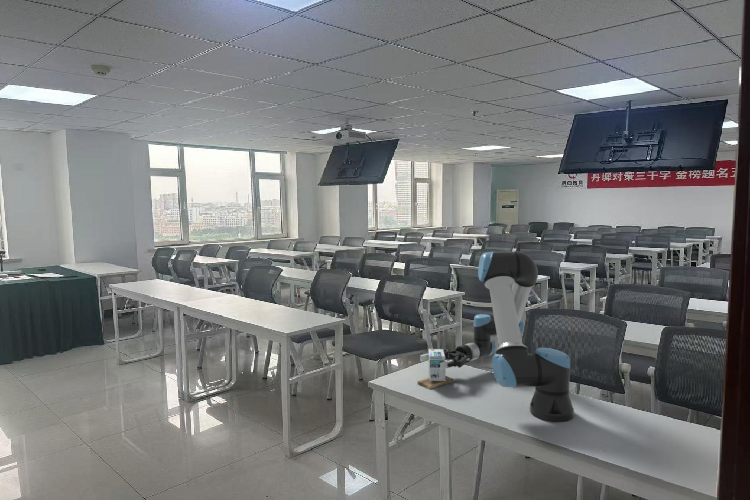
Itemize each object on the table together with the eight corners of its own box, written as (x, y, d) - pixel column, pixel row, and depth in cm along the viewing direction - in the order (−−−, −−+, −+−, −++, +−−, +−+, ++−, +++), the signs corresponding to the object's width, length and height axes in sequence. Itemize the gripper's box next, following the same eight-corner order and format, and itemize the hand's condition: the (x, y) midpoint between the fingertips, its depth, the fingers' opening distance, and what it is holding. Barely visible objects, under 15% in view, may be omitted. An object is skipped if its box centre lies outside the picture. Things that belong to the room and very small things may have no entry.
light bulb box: (445, 381, 207) (445, 356, 206) (429, 381, 208) (429, 356, 207) (443, 372, 218) (443, 348, 217) (428, 372, 218) (428, 348, 217)
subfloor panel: (453, 381, 214) (453, 378, 214) (429, 389, 206) (429, 386, 206) (441, 376, 220) (441, 374, 220) (417, 383, 212) (417, 381, 212)
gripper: (487, 368, 213) (450, 379, 201) (448, 354, 233) (412, 363, 220) (487, 351, 212) (450, 361, 200) (448, 338, 232) (412, 347, 220)
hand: (430, 362), depth 210 cm, fingers closed on light bulb box, 12 cm apart
